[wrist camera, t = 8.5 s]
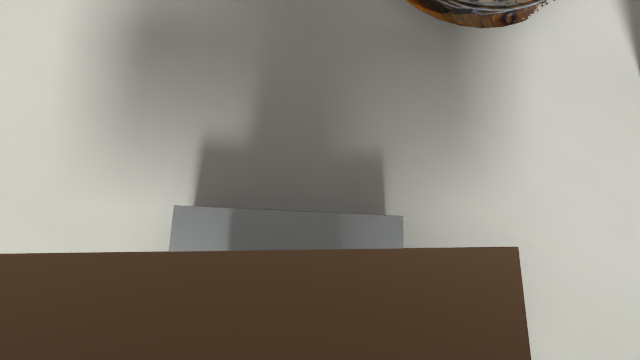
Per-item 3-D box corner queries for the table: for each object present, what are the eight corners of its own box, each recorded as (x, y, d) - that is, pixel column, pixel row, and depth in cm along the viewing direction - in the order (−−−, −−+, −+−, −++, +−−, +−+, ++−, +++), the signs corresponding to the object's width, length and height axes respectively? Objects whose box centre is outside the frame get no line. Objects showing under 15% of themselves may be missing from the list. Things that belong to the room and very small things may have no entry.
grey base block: (383, 432, 19) (403, 468, 15) (172, 428, 18) (145, 464, 15) (384, 225, 21) (402, 216, 17) (194, 216, 20) (174, 205, 17)
